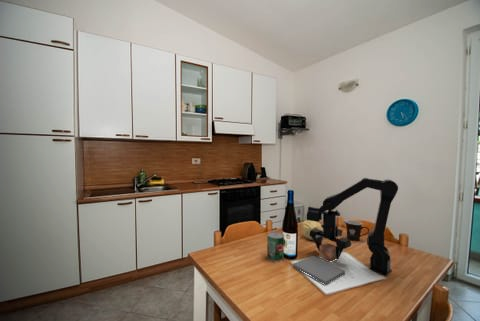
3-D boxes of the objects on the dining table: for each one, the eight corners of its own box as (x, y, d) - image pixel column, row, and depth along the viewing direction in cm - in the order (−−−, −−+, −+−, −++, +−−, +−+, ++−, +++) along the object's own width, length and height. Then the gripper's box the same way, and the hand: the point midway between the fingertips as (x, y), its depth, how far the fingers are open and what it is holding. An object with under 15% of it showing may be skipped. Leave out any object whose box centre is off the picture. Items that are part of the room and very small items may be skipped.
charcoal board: (345, 274, 89) (345, 270, 89) (325, 285, 81) (325, 281, 81) (312, 258, 102) (312, 255, 102) (292, 267, 94) (292, 263, 94)
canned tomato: (283, 262, 98) (283, 238, 98) (266, 260, 100) (266, 237, 99) (283, 254, 106) (283, 232, 106) (267, 252, 107) (268, 231, 107)
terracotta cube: (337, 259, 102) (338, 246, 102) (330, 262, 98) (331, 249, 98) (326, 254, 107) (326, 242, 107) (319, 257, 103) (319, 245, 103)
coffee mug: (342, 237, 129) (342, 221, 128) (351, 235, 132) (352, 219, 132) (360, 245, 118) (360, 227, 118) (369, 242, 122) (370, 225, 122)
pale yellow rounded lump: (298, 235, 131) (298, 218, 131) (315, 233, 135) (315, 217, 134) (309, 243, 120) (310, 224, 120) (327, 240, 124) (327, 222, 124)
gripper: (357, 225, 99) (356, 258, 99) (322, 216, 114) (321, 244, 115) (344, 230, 93) (344, 265, 93) (309, 219, 108) (308, 249, 108)
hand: (328, 255), depth 102 cm, fingers open, 9 cm apart
